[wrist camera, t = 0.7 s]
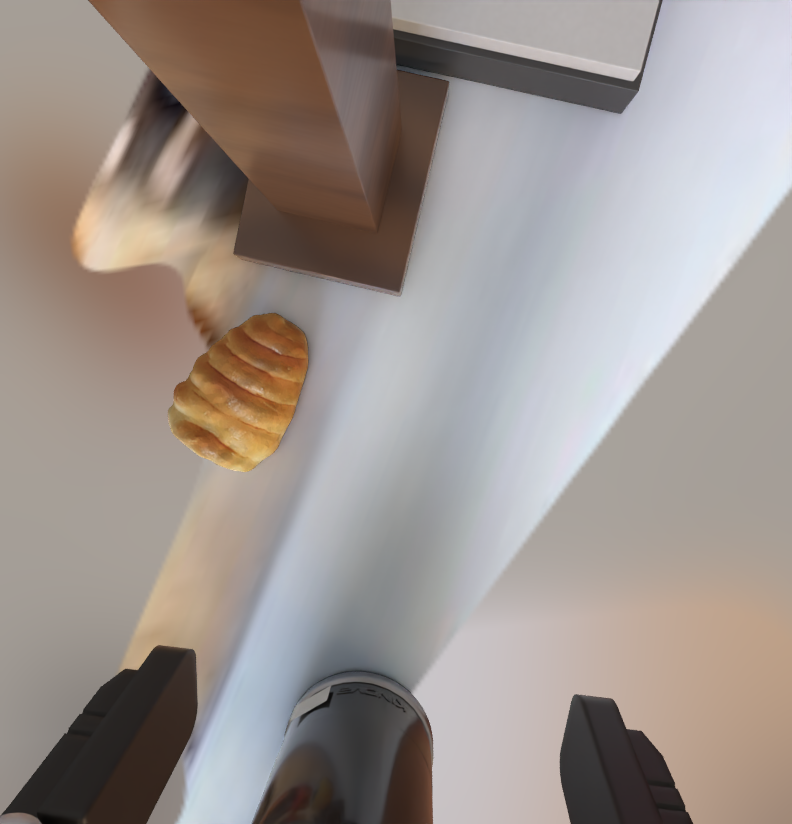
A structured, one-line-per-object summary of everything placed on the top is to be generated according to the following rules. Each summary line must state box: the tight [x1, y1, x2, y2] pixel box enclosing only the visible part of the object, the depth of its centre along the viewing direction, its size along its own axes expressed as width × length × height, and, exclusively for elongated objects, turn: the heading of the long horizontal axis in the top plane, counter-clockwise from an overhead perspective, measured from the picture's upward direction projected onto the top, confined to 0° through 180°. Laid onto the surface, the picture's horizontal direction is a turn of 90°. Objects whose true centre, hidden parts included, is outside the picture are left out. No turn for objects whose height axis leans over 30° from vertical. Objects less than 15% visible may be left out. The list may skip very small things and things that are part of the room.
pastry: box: [168, 313, 308, 472], centre depth 31 cm, size 9×7×4 cm
